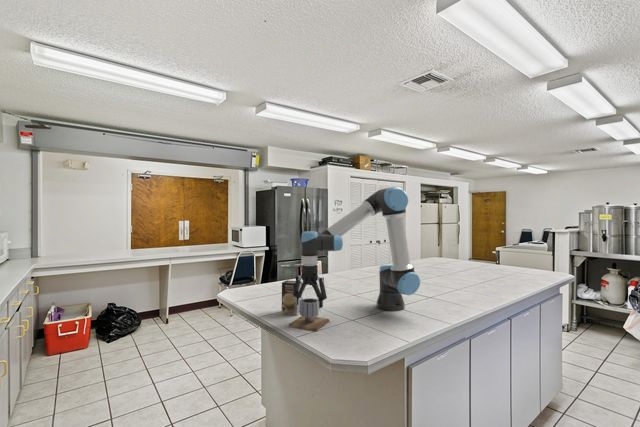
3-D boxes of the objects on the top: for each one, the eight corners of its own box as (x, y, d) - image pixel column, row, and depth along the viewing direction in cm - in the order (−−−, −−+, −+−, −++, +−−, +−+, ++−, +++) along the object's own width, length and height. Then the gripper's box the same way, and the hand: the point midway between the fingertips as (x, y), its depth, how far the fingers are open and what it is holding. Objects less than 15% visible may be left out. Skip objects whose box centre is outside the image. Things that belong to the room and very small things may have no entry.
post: (316, 320, 145) (316, 305, 145) (311, 323, 141) (311, 308, 141) (307, 319, 147) (307, 304, 147) (303, 322, 143) (303, 306, 143)
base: (329, 321, 148) (329, 318, 148) (316, 331, 135) (316, 328, 135) (303, 317, 154) (303, 315, 154) (288, 326, 141) (288, 323, 141)
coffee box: (280, 313, 159) (280, 282, 160) (286, 310, 166) (286, 280, 166) (297, 315, 156) (297, 283, 157) (302, 312, 163) (302, 281, 163)
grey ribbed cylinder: (322, 312, 146) (322, 299, 147) (314, 317, 138) (314, 304, 138) (305, 310, 150) (305, 297, 150) (296, 315, 142) (296, 302, 142)
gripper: (334, 264, 143) (334, 314, 143) (293, 262, 153) (293, 308, 152) (327, 267, 137) (327, 318, 136) (285, 264, 146) (285, 312, 146)
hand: (309, 313), depth 144 cm, fingers closed on grey ribbed cylinder, 9 cm apart
